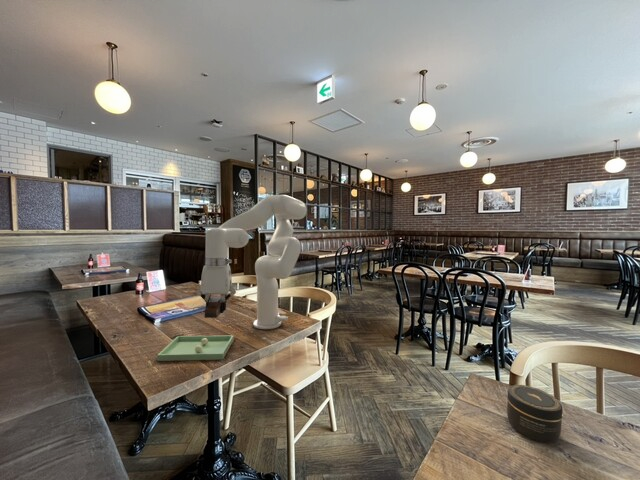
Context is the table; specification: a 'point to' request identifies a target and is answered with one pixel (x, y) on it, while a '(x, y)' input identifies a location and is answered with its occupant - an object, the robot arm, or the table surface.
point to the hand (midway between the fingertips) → (216, 311)
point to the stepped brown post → (213, 307)
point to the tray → (186, 348)
